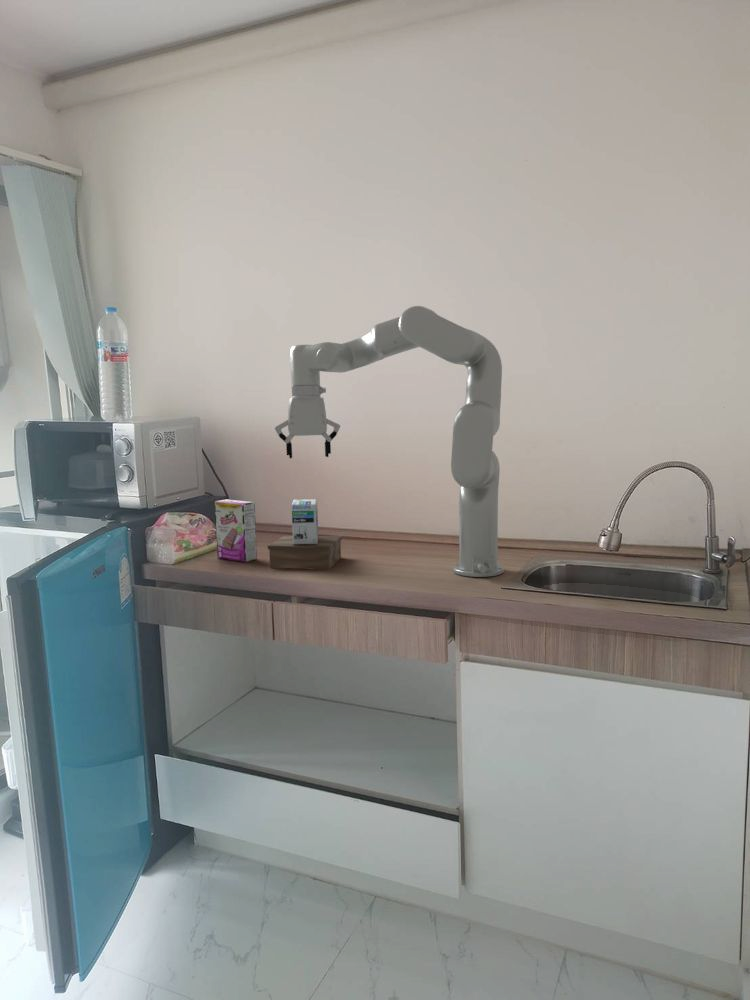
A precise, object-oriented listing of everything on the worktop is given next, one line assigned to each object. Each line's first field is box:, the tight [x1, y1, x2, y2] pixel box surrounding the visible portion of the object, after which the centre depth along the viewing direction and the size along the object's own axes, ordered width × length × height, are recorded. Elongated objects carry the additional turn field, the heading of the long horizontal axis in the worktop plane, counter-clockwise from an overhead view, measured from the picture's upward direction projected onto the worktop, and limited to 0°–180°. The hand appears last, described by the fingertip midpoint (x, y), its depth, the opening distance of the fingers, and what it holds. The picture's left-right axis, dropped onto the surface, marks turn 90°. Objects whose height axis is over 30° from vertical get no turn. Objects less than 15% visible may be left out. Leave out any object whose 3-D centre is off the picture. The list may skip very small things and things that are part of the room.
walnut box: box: [267, 534, 343, 570], centre depth 198 cm, size 15×17×6 cm
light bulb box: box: [290, 498, 319, 544], centre depth 196 cm, size 11×7×11 cm, turn 3°
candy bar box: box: [214, 498, 258, 563], centre depth 204 cm, size 11×5×16 cm, turn 57°
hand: (308, 457), depth 195 cm, fingers open, 9 cm apart
